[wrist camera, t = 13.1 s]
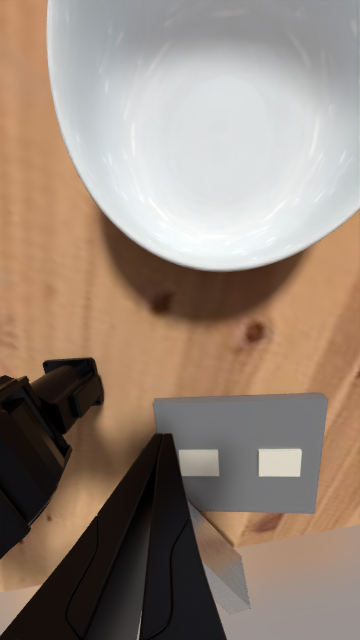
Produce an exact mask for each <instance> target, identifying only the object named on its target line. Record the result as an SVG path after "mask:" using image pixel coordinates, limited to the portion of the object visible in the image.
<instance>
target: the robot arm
mask: <svg viewBox="0 0 360 640" xmlns="http://www.w3.org/2000/svg"><path fill="white" fill-rule="evenodd" d="M89 361H90V362H91V363H89ZM43 368H44V371H45V375H43V376H42V377H40V378H39V379H37V380H36V381H34V382H33V383H31V384H30V383H29V382H28V381H29V379H28V378H27V376H24V377H21V378H18V379H14V378H11V377H9V376H6V375H4V376H1V377H0V559H1V558H2V557H3V556H4V555H5V554H6V553H7V552H8V551H9V550H10V549H11V548H12V547H14V546H15V545H16V544H17V543H18V542H19V541H21V540H22V539H23V538H24V537H25V536H26V535H27V534H28V533H29V531H30V529H31V527H30V525H32V524H33V522H34V521H35V520H36V519H37V518H38V517H39V516H40V514H41V513H42V512H43V511H44V509H45V508H46V507H47V505H48V503H49V502H50V500H51V499H52V497H53V495H54V493H55V492H56V489H57V487H58V483H59V481H60V478H61V476H62V474H63V471H64V469H65V466H66V464H67V462H68V459H69V457H70V455H71V452H72V450H73V449H72V447H71V446H70V445H68V443H67V442H66V440H65V439H64V437H63V436H62V434H66V433H67V432H68V430H69V429H70V428H71V427H72V425H73V424H74V423H75V422H76V421H77V419H78V418H81V417H82V416H83V415H84V414H85V413H86V411H87V410H88V409H89V408H90V406H98V405H101V404H102V402H103V397H102V390H101V386H100V381H99V377H98V374H97V370H96V366H95V361H94V359H93V358H73V359H56V360H46V361H45V362H43ZM99 401H100V402H99ZM141 611H142V615H141ZM140 617H141V625H140V626H141V627H140V635H139V640H227V639H226V635H225V632H224V629H223V626H222V623H221V620H220V617H219V614H218V611H217V607H216V604H215V601H214V598H213V595H212V592H211V589H210V586H209V583H208V579H207V576H206V573H205V569H204V566H203V563H202V559H201V556H200V552H199V548H198V544H197V540H196V536H195V532H194V528H193V523H192V519H191V515H190V510H189V506H188V501H187V497H186V492H185V488H184V483H183V479H182V474H181V470H180V465H179V461H178V456H177V452H176V447H175V443H174V438H173V434H172V433H164V434H163V433H155V434H154V435H153V437H152V438H151V440H150V441H149V442H148V444H147V445H146V447H145V448H144V449H143V451H142V452H141V454H140V455H139V456H138V458H137V459H136V461H135V462H134V463H133V465H132V466H131V468H130V469H129V470H128V472H127V473H126V475H125V476H124V477H123V479H122V480H121V481H120V483H119V484H118V486H117V487H116V488H115V490H114V491H113V493H112V494H111V495H110V497H109V498H108V500H107V501H106V502H105V504H104V505H103V507H102V508H101V509H100V511H99V512H98V514H97V516H95V518H94V519H93V520H92V522H91V523H90V525H89V526H88V527H87V529H86V530H85V531H84V533H83V534H82V535H81V537H80V538H79V539H78V541H77V542H76V543H75V545H74V546H73V547H72V549H71V550H70V551H69V553H68V554H67V555H66V556H65V558H64V559H63V560H62V561H61V563H60V564H59V565H58V566H57V568H56V569H55V570H54V571H53V573H52V574H51V575H50V576H49V577H48V579H47V580H46V581H45V582H44V583H43V585H42V586H41V587H40V589H39V590H38V591H37V592H36V593H35V594H34V596H33V597H32V598H31V599H30V601H29V602H28V603H27V604H26V605H25V607H24V608H23V609H22V610H21V611H20V613H19V614H18V615H17V617H16V618H15V619H14V620H13V621H12V623H11V624H10V625H9V626H8V627H7V629H6V630H5V631H4V632H3V633H2V635H1V636H0V640H136V639H137V634H138V628H139V623H140Z"/></svg>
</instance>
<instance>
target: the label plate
mask: <svg viewBox="0 0 360 640" xmlns="http://www.w3.org/2000/svg"><path fill="white" fill-rule="evenodd" d="M327 404H328V398H327V397H326V396H325V395H324V394H322V393H301V394H273V395H244V396H216V397H187V398H159V399H154V402H153V408H154V415H155V421H156V428H157V433H163V434H164V433H172V434H173V438H174V443H175V447H176V452H177V456H178V461H179V465H180V470H181V474H182V479H183V483H184V488H185V492H186V497H187V500H188V501H189V502H190V503H191V504H192V505H193V507H194V508H195V509H196V510H197V511H223V512H266V513H308V514H315V506H316V497H317V489H318V481H319V472H320V464H321V455H322V447H323V438H324V430H325V421H326V413H327ZM142 451H143V449H142V450H141V452H142ZM140 454H141V453H140Z"/></svg>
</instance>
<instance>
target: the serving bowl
mask: <svg viewBox="0 0 360 640" xmlns="http://www.w3.org/2000/svg"><path fill="white" fill-rule="evenodd" d="M47 55H48V70H49V78H50V86H51V92H52V97H53V103H54V107H55V112H56V116H57V120H58V124H59V127H60V131H61V134H62V136H63V139H64V142H65V145H66V148H67V151H68V153H69V155H70V158H71V160H72V162H73V165H74V167H75V169H76V171H77V173H78V175H79V177H80V179H81V181H82V182H83V184H84V186H85V188H86V189H87V191H88V192H89V194H90V196H91V197H92V199H93V200H94V201H95V203H96V204H97V206H98V207H99V208H100V209H101V211H102V212H103V213H104V214H105V215H106V216H107V218H108V219H109V220H110V221H111V222H112V223H113V224H114V225H115V226H116V227H117V228H118V229H119V230H120V231H121V232H122V233H123V234H125V235H126V236H127V237H128V238H129V239H131V240H132V241H133V242H134V243H136V244H137V245H139V246H140V247H142V248H143V249H145V250H146V251H148V252H150V253H152V254H153V255H155V256H157V257H159V258H161V259H163V260H165V261H168V262H170V263H173V264H176V265H179V266H182V267H186V268H190V269H195V270H201V271H209V272H234V271H243V270H249V269H254V268H259V267H263V266H266V265H269V264H273V263H276V262H279V261H281V260H284V259H286V258H289V257H291V256H293V255H295V254H297V253H299V252H301V251H303V250H305V249H307V248H309V247H310V246H312V245H314V244H315V243H317V242H319V241H320V240H322V239H323V238H325V237H326V236H328V235H329V234H330V233H332V232H333V231H334V230H336V229H337V228H339V227H340V226H341V225H342V224H343V223H345V222H346V221H347V220H348V219H350V218H351V217H352V216H353V215H354V214H355V213H356V212H357V211H358V210H359V209H360V0H48V9H47Z"/></svg>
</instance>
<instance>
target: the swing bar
mask: <svg viewBox="0 0 360 640" xmlns="http://www.w3.org/2000/svg"><path fill="white" fill-rule="evenodd" d="M132 465H133V464H132ZM187 501H188V500H187ZM188 506H189V510H190V515H191V519H192V523H193V528H194V532H195V536H196V540H197V544H198V548H199V552H200V556H201V559H202V563H203V566H204V569H205V573H206V576H207V579H208V583H209V586H210V589H211V592H212V595H213V598H214V600H215V601H216V602H217V603H218V604H219V605H220V606H221V607H222V608H223V609H224V610H225V611H226V612H228V613H229V614H234V613H237V612H241V611H244V610H247V609H250V602H249V596H248V591H247V585H246V580H245V575H244V569H243V563H242V557H241V556H240V554H239V553H238V552H237V551H236V550H235V549H234V548H233V547H232V546H231V545H230V544H229V543H228V542H227V541H226V540H225V539H224V538H223V537H222V536H221V535H220V534H219V533H218V532H217V530H216V529H215V528H214V527H213V526H212V525H211V524H210V523H209V522H208V521H207V520H206V519H205V518H204V517H203V516H202V515H201V514H200V513H199V512H198V511H197V510H196V509H195V508H194V507H193V505H192V504H191V503H190V502H189V501H188Z"/></svg>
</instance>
